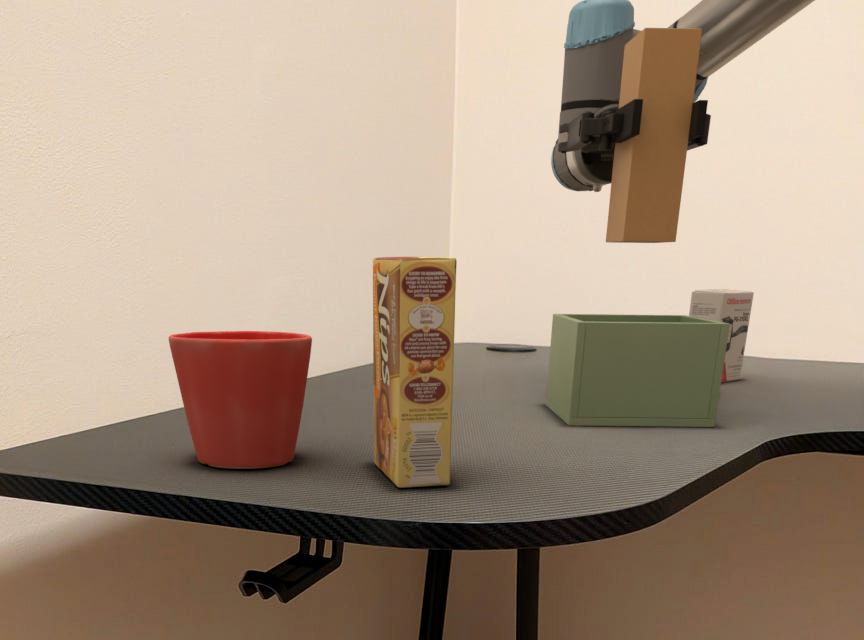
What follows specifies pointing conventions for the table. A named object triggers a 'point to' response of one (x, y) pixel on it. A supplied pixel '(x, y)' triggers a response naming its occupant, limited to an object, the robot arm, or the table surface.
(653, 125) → the block
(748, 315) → the ink box
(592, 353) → the storage bin
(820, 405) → the table surface
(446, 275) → the candy box
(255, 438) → the flower pot
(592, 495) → the table surface
